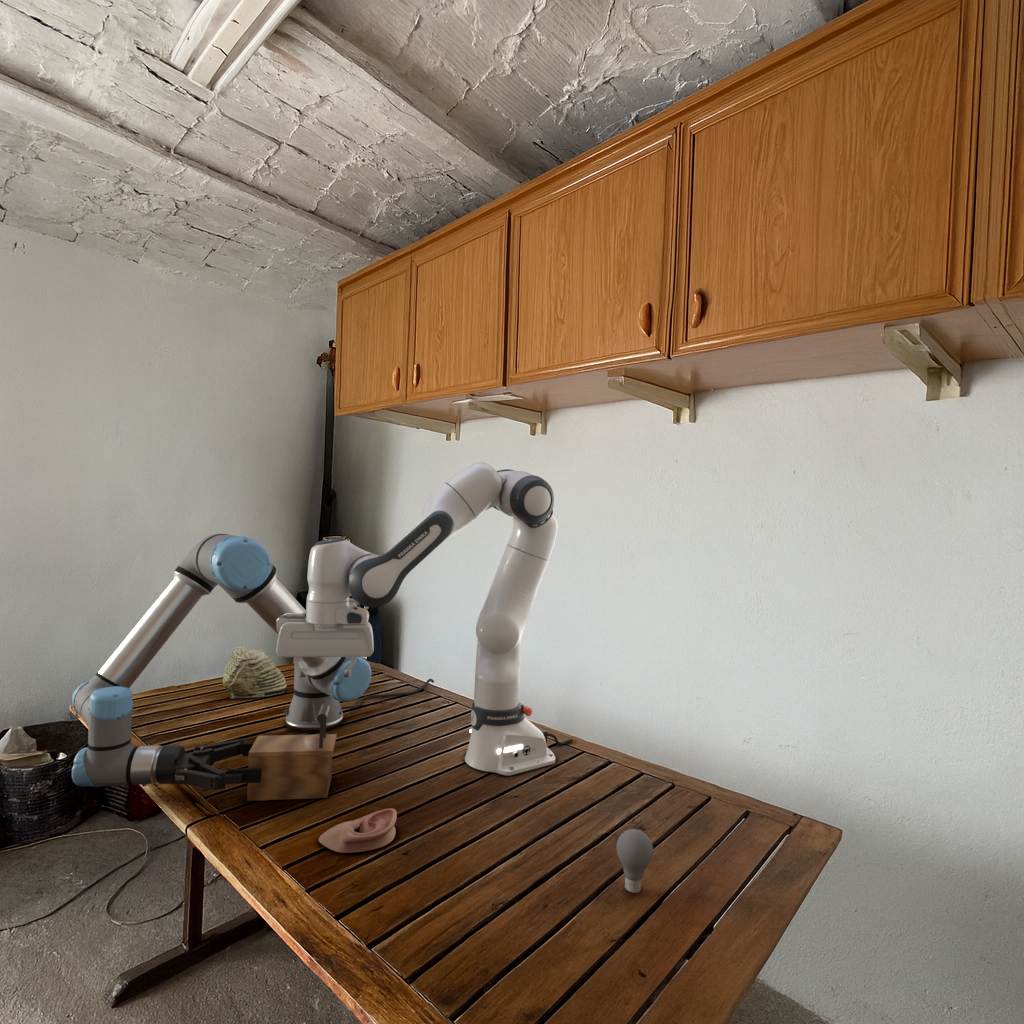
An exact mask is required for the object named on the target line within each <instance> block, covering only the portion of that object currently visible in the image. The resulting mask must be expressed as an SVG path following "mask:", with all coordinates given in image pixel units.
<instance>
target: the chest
mask: <svg viewBox="0 0 1024 1024" xmlns="http://www.w3.org/2000/svg"><path fill="white" fill-rule="evenodd" d="M247 757H248V759H247V760H248V761H247V768H262V774H261V783H246V785H247V786H246V802H257V801H258V802H259V801H281V800H283V801H284V800H285V801H286V800H308V799H309V800H310V799H327V798H328V795H329V791H330V786H331V781H332V772H333V771H332V769H333V754H332V755H299V756H263V757H249V756H247Z"/></svg>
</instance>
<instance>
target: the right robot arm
mask: <svg viewBox="0 0 1024 1024" xmlns="http://www.w3.org/2000/svg"><path fill="white" fill-rule="evenodd" d="M554 504H555V495H554V491H553V488H552V487H551V485H550V484H549V483H548V481H546V479H544V478H542V477H541V476H538V475H535V474H532V473H530V472H527V471H524V470H514V469H510V468H509V469H500V470H496V468H494V467H493V466H492V465H491V464H488V463H487V462H484V461H477V462H474V463H472V464H470V465H468V466H466V467H465V468H463V469H461V470H460V471H458V472H457V473H455V474H454V475H452V476H451V477H450V478H448V479H447V480H446V481H444V483H442V484H441V485H440V486H438V488H437V489H435V490H434V491H433V493H431V495H430V496H429V497H428V498H427V499H426V501H425V502H424V503H423V506H422V510H421V514H420V518H419V520H418V522H417V523H416V525H414V527H413V528H412V529H411V530H409V532H408V533H407V534H406V535H404V536H403V537H402V538H401V539H400V540H398V542H396V543H395V544H394V545H392V546H391V547H390V549H388V550H387V551H386V552H384V553H382V554H381V555H378V554H376V553H373V552H370V551H368V550H365V549H362V548H360V547H359V546H357V545H355V544H353V543H352V542H350V541H349V540H348V539H347V538H344V537H338V538H337V537H336V538H328V539H322V540H320V541H317V542H316V543H315V544H314V545H312V547H311V549H310V552H309V556H308V557H309V558H308V562H307V563H308V564H307V575H306V577H307V584H308V593H307V596H306V607H305V608H306V609H305V610H306V613H285V614H284V615H281V616H280V617H279V618H278V619H277V627H276V628H277V631H278V632H279V635H278V636H277V642H276V649H275V651H276V654H277V656H278V657H279V658H293V664H294V667H295V666H296V667H297V669H298V670H299V673H298V677H299V678H302V677H306V674H307V673H306V671H307V668H303V667H302V665H301V663H300V661H301V659H302V657H350V662H351V664H350V665H349V667H345V668H344V677H351V669H352V668H353V666H354V665H355V663H356V661H357V657H362V658H369V657H371V656H372V655H373V654H374V648H375V644H374V643H375V641H374V631H373V627H372V624H371V623H370V621H369V620H370V612H369V611H368V609H366V608H381V607H383V606H385V605H388V604H389V603H391V601H392V600H393V599H394V598H395V597H396V595H397V593H398V592H399V590H400V588H401V586H402V584H403V581H404V580H405V578H406V577H407V576H408V574H409V573H410V572H412V571H413V570H414V569H415V568H416V567H417V566H418V565H419V564H420V563H421V562H422V561H423V560H425V559H426V558H427V557H428V556H429V555H430V554H431V553H432V552H434V551H435V549H437V548H438V547H439V546H440V545H441V544H443V543H444V542H446V541H447V540H449V539H451V538H452V537H454V536H455V535H457V534H458V533H460V532H461V531H463V530H464V529H466V528H467V527H469V525H471V524H472V523H473V522H474V521H476V520H477V519H478V518H479V517H480V516H481V515H482V514H483V513H484V512H485V511H487V510H489V509H491V508H494V510H497V511H500V512H501V513H503V514H505V515H506V516H509V517H512V523H513V524H512V531H511V534H510V536H509V539H508V541H507V544H506V545H505V549H504V552H503V554H502V556H501V559H500V561H499V565H498V566H497V569H496V572H495V574H494V577H493V580H492V583H491V586H490V588H489V591H488V593H487V595H486V599H485V601H484V604H483V605H482V608H481V610H480V612H479V615H478V618H477V621H476V626H475V634H476V635H475V636H476V639H477V642H476V654H475V655H476V656H475V669H474V688H473V689H474V690H473V691H474V692H473V700H472V703H471V710H470V725H471V728H470V729H469V733H470V736H469V743H468V746H467V750H466V753H465V755H464V761H465V763H466V764H467V765H468V766H469V767H471V768H473V769H475V770H479V771H482V772H487V773H488V772H489V773H496V774H498V775H502V776H506V777H509V776H513V775H516V774H517V775H518V774H522V773H524V772H528V771H533V770H537V769H540V768H544V767H547V766H551V765H555V764H556V755H555V753H554V752H553V751H552V750H551V749H550V748H549V747H548V746H547V744H548V737H551V738H553V739H554V742H555V743H556V744H557V745H559V746H564V745H568V744H570V743H572V742H574V739H573V738H569V739H567V740H565V741H559V740H558V737H557V736H556V735H555V734H553V733H550V732H548V730H547V729H546V730H545V729H544V728H542V727H540V726H538V725H535V724H534V723H532V722H531V721H530V720H529V719H527V718H526V717H531V716H532V714H533V713H534V712H533V709H532V708H531V707H530V706H528V705H524V704H523V703H521V702H520V699H519V698H520V682H521V681H520V680H521V679H520V678H521V677H520V676H521V651H522V650H521V647H522V645H521V644H522V636H523V635H524V631H525V628H526V626H527V622H528V619H529V617H530V614H531V611H532V608H533V605H534V603H535V599H536V596H537V593H538V590H539V588H540V585H541V582H542V579H543V578H544V574H545V573H546V572H545V571H546V570H547V567H548V564H549V561H550V559H551V556H552V553H553V551H554V547H555V543H556V539H557V533H558V530H559V523H558V520H557V518H556V517H555V516H554V515H553V514H554ZM350 596H351V597H352V598H353V599H354V600H355V602H357V603H358V604H359V605H361V606H363V607H366V608H363V607H359V606H356V605H353V604H351V603H350ZM282 617H284V618H282Z"/></svg>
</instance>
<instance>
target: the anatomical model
mask: <svg viewBox="0 0 1024 1024" xmlns="http://www.w3.org/2000/svg"><path fill="white" fill-rule="evenodd" d="M397 816H398V813H397V810H396V809H395V808H392V807H390V808H384V809H380V810H377V811H374V812H371V813H369V814H366V815H364V816H362V817H360V818H357V819H354V820H348V821H343V822H341V823H339V824H335V825H334V826H332V827H330V828H328V830H326V831H324V832H323V833H322V834H321V835H320V836H319V837H318V842H319V843H320V844H321V845H322V846H324V847H325V848H327V849H329V850H332V851H333V852H336V853H339V854H351V853H361V852H367V851H372V850H376V849H380V848H382V847H385V846H387V845H389V844H390V843H392V842H393V840H394V839H395V837H396V833H397V832H396V827H395V825H396V823H397V818H398V817H397Z"/></svg>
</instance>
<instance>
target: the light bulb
mask: <svg viewBox="0 0 1024 1024" xmlns="http://www.w3.org/2000/svg"><path fill="white" fill-rule="evenodd" d="M615 849H616V854H617V857H618V859H619V861H620V863H621V865H622V867H623V873H624V874H623V875H624V876H625V878H624V888H625V890H627V891H628V892H630V893H634V894H635V893H639V892H640V891H641V889H642V887H641V886H642V879H643V877H644V875H645V871H646V868H647V867H648V866H649V864H650V863H651V861H652V859H653V855H654V847H653V843H652V841H651V838H649V836H648V835H647V834H646V833H645V832H643V831H642V830H641V829H636V828H629V829H627V830H625V831H623V832H622V833H621V834H620V835H619V837H618V839H617V841H616V847H615Z"/></svg>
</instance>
